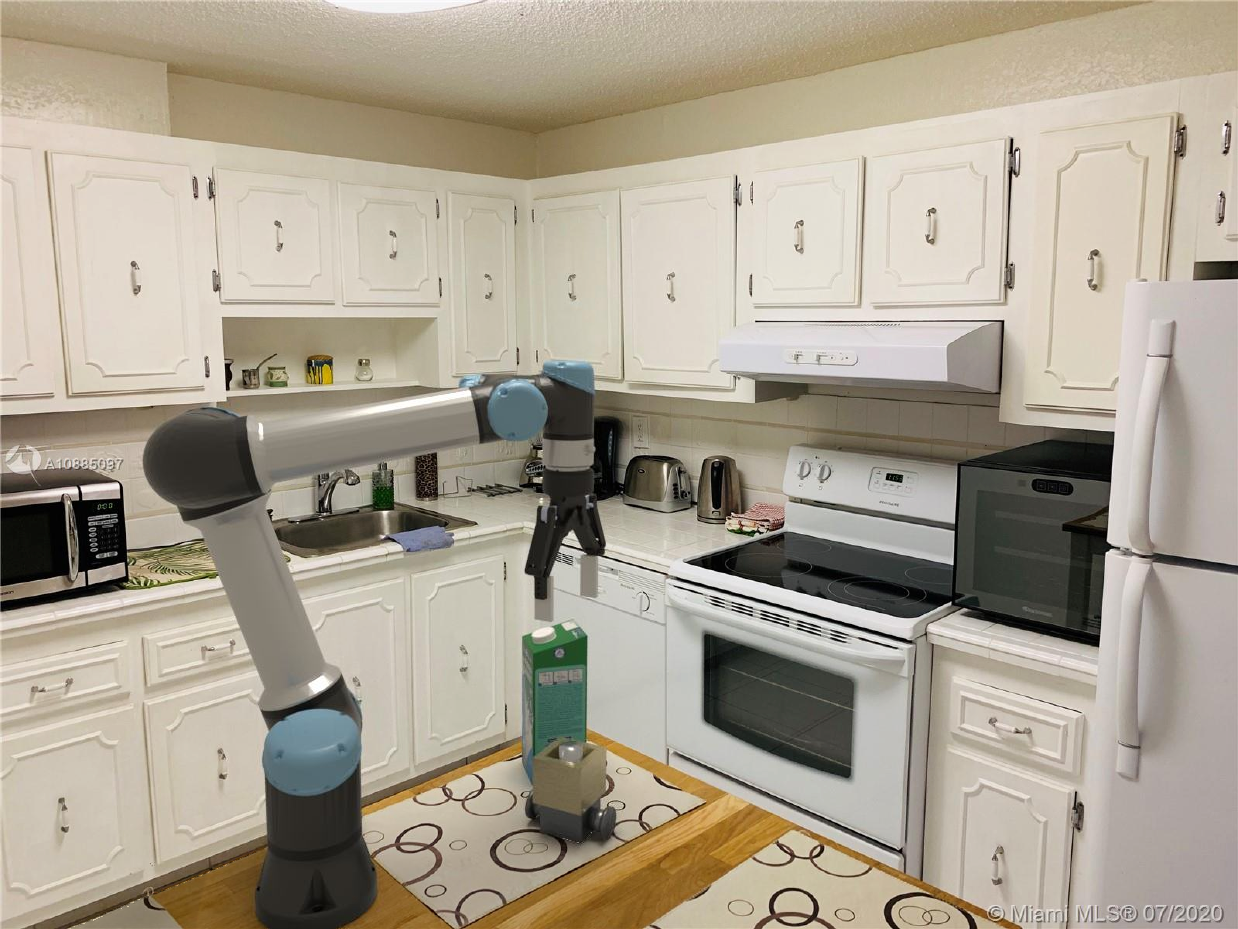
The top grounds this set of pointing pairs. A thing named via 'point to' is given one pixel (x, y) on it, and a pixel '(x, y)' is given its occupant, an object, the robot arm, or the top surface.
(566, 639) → the milk carton
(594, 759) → the collar
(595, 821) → the valve
